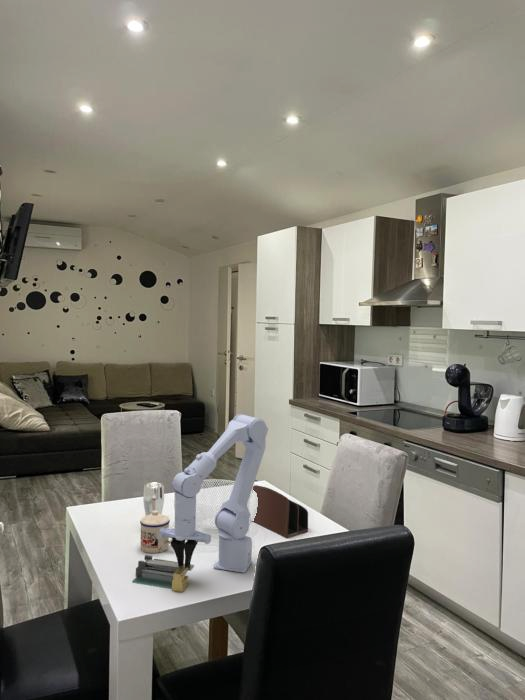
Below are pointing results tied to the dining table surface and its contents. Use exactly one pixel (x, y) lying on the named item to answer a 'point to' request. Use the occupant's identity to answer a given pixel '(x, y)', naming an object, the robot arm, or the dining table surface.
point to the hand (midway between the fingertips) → (184, 565)
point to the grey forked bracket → (142, 566)
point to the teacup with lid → (154, 532)
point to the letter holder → (280, 513)
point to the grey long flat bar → (166, 564)
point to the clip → (180, 579)
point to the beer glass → (153, 497)
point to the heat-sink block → (157, 576)
